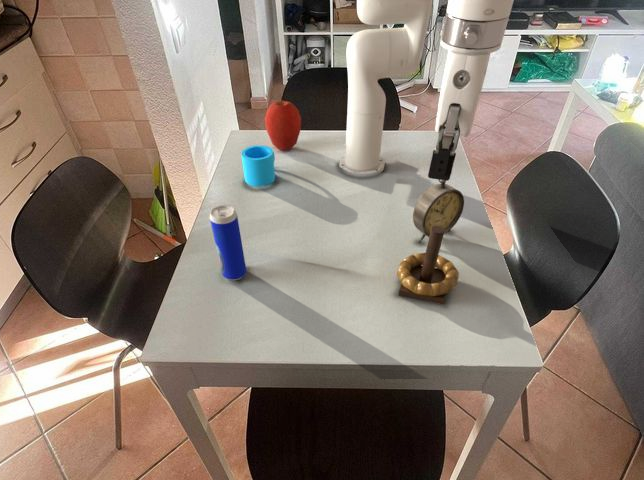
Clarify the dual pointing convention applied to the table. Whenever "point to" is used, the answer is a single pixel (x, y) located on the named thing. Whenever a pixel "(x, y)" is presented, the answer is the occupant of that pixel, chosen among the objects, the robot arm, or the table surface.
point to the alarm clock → (438, 208)
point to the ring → (427, 288)
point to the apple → (283, 124)
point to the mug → (258, 165)
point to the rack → (428, 268)
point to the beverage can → (228, 241)
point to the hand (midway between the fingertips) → (442, 163)
